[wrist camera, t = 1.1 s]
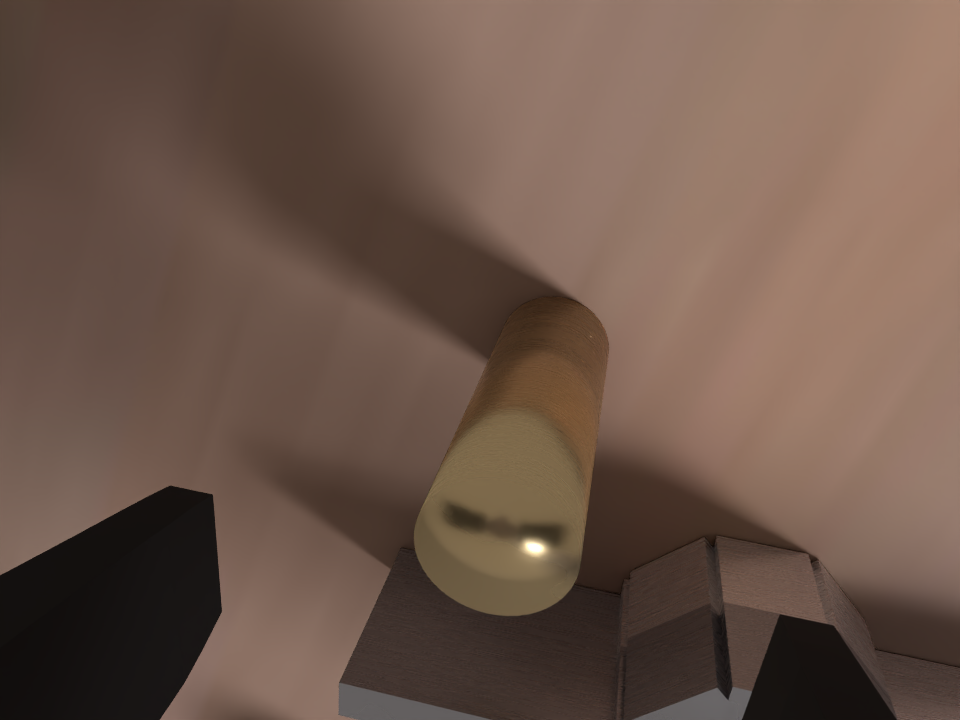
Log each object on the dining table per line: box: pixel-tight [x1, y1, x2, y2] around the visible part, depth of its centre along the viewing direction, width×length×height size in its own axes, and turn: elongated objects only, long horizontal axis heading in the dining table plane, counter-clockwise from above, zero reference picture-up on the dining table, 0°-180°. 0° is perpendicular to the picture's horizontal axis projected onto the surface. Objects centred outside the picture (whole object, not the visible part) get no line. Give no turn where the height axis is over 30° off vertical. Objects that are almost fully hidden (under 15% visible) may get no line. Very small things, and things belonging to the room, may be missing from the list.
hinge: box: [339, 535, 960, 720], centre depth 17 cm, size 17×6×4 cm, turn 85°
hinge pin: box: [414, 297, 609, 616], centre depth 14 cm, size 2×2×7 cm
